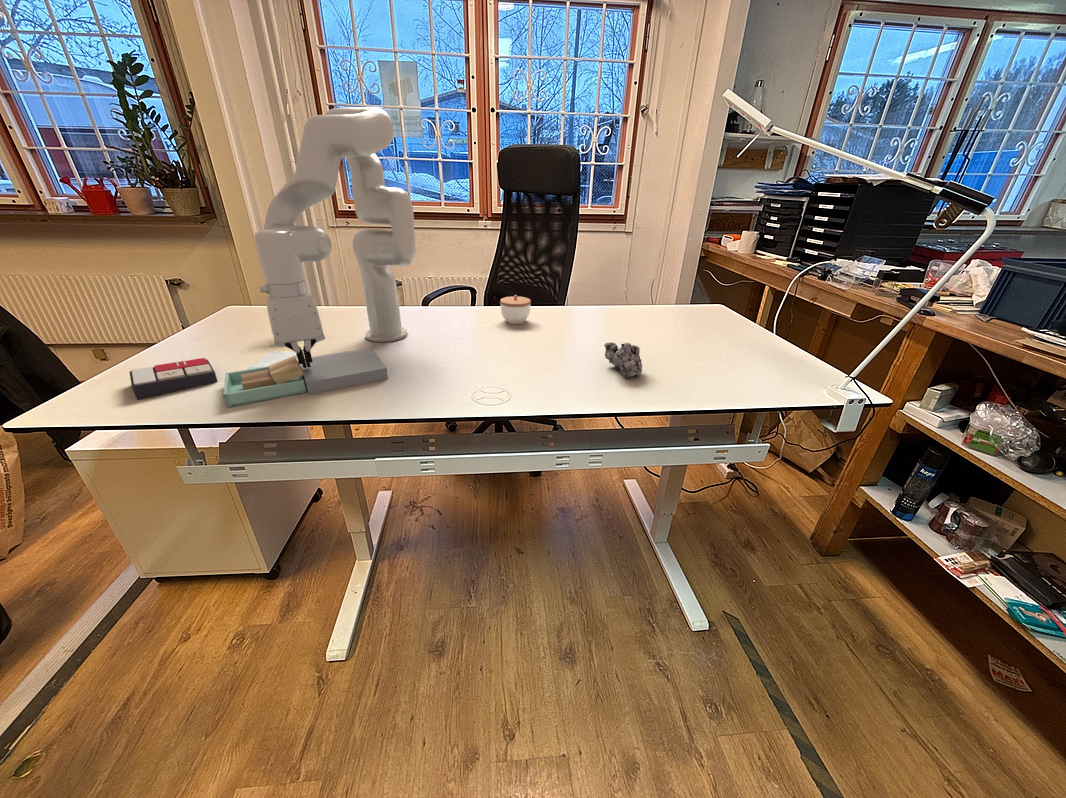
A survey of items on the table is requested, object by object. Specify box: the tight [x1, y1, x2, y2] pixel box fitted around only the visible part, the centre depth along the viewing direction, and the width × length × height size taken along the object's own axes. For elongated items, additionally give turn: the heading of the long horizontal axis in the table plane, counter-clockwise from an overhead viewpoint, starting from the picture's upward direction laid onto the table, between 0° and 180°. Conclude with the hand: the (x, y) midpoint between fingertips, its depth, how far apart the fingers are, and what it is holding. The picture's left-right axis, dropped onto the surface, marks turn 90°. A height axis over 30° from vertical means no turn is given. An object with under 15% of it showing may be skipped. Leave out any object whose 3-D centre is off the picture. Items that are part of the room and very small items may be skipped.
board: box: [300, 347, 389, 395], centre depth 107 cm, size 16×18×3 cm
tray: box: [222, 366, 308, 408], centre depth 99 cm, size 13×15×3 cm
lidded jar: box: [499, 294, 532, 325], centre depth 149 cm, size 11×11×9 cm
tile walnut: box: [241, 370, 275, 390], centre depth 98 cm, size 6×6×3 cm
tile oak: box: [269, 356, 304, 384], centre depth 100 cm, size 6×6×3 cm
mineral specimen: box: [603, 341, 643, 380], centre depth 111 cm, size 12×9×10 cm
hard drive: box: [246, 351, 298, 370], centre depth 113 cm, size 2×8×12 cm
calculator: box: [129, 357, 218, 401], centre depth 100 cm, size 11×4×15 cm
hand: (306, 365), depth 102 cm, fingers closed
